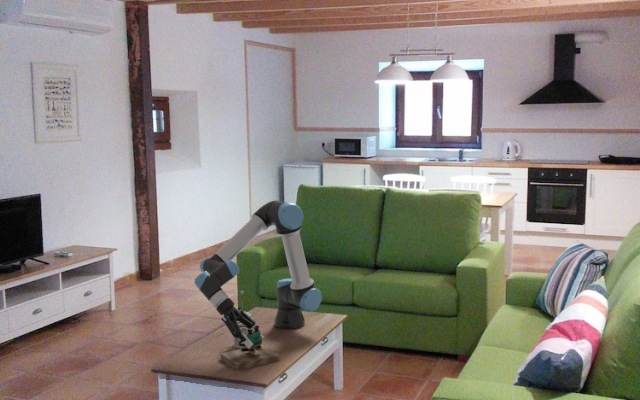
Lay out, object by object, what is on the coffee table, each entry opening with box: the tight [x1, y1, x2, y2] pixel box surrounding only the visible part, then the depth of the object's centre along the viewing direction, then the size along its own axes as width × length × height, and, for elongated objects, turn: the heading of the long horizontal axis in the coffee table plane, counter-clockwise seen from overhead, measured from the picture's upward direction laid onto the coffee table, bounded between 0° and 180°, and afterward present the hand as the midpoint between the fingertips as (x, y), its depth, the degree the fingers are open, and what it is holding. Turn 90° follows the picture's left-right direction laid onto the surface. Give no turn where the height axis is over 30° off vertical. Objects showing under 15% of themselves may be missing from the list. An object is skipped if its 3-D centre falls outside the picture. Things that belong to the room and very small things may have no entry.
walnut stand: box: [219, 344, 281, 371], centre depth 292 cm, size 20×16×2 cm
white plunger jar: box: [228, 290, 252, 349], centre depth 311 cm, size 10×12×25 cm
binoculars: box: [239, 325, 263, 354], centre depth 292 cm, size 9×11×10 cm
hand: (256, 342), depth 290 cm, fingers closed on binoculars, 9 cm apart
